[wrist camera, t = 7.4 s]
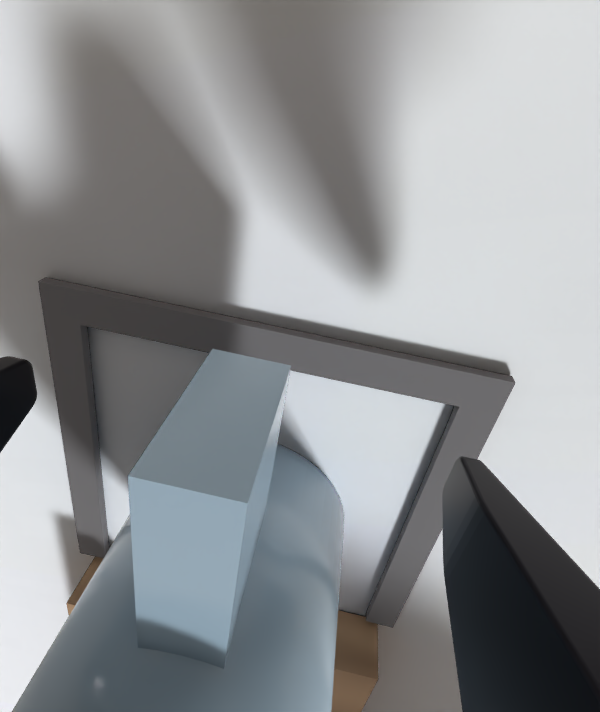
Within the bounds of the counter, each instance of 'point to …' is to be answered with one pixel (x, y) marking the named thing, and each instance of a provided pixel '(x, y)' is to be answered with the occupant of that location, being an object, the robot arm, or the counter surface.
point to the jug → (210, 568)
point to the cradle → (351, 654)
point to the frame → (299, 349)
